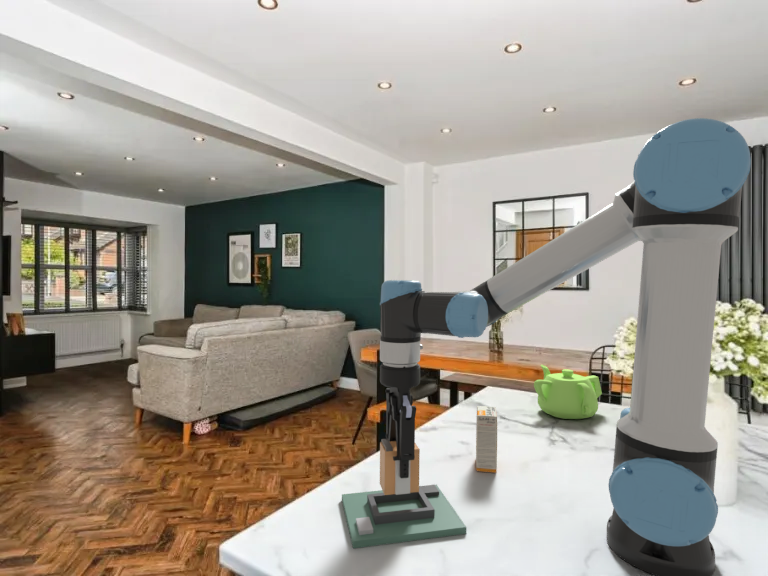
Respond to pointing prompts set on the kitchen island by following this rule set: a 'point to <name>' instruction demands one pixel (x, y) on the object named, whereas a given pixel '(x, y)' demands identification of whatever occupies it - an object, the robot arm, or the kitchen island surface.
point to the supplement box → (486, 439)
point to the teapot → (568, 394)
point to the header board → (399, 516)
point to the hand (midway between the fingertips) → (398, 486)
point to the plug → (388, 467)
